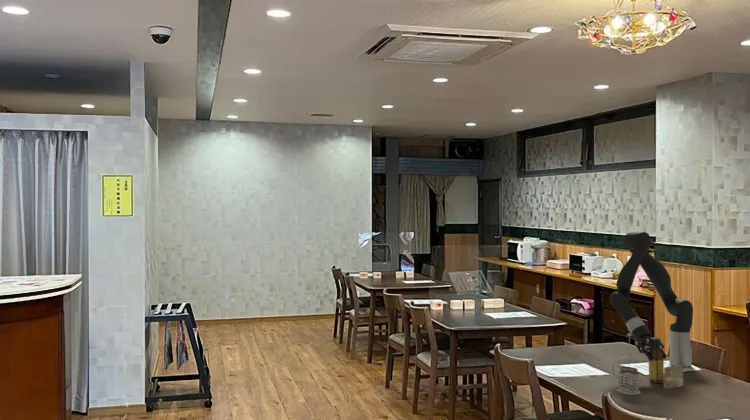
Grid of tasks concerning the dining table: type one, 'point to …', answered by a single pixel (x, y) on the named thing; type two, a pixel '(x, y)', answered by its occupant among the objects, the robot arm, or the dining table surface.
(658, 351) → the sauce bottle
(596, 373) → the dining table surface
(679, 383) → the tile
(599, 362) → the dining table surface
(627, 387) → the french press
